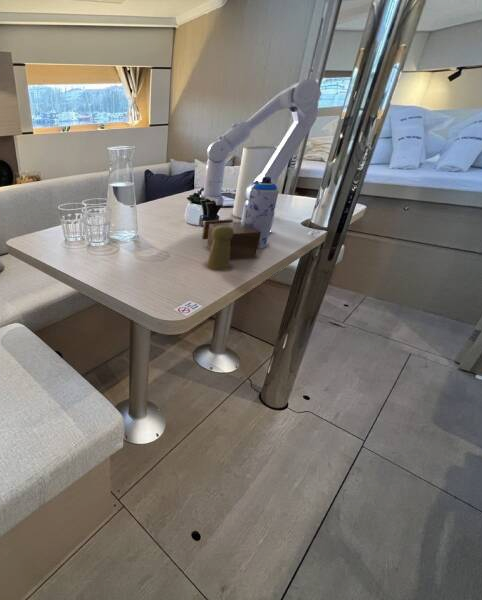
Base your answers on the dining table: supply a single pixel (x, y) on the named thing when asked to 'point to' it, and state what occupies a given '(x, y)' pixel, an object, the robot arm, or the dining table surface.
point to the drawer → (207, 226)
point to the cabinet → (239, 240)
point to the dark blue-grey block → (205, 219)
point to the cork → (220, 248)
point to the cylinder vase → (250, 172)
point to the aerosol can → (262, 208)
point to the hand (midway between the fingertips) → (208, 221)
